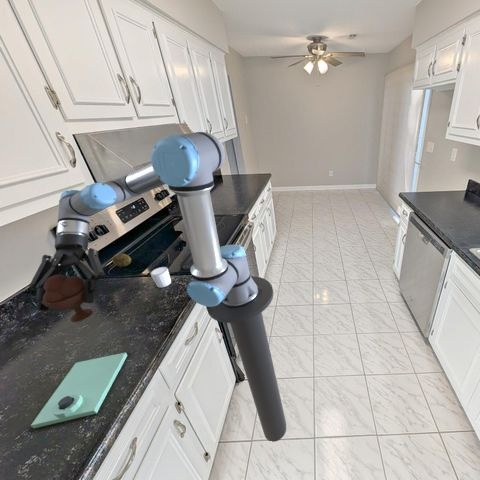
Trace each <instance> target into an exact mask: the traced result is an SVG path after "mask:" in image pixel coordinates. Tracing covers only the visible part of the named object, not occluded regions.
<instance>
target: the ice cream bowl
mask: <svg viewBox="0 0 480 480" xmlns="http://www.w3.org/2000/svg"><path fill="white" fill-rule="evenodd" d="M85 281H86V280H85V279H83V278H81V277H80V276H75V275H72V276H67V275H64V274H59V275H54V276H51V277H49V278H48V279H47V280H46V281H45V283H44V289H45V291H46V292H45V294H44V296H43V300H42V302H41V303H42V304H43V305H45V306H47V307H49V309H52V310H54V311H69V310H73V311H74V314H73V315H71V317H70V322H72V323H79V322H81V321H84V320H87V319H88V318H89V317H90V316H91V315H93V313H94V310H93V309H91V308H82V306H81V305H82V304H84V291H85Z"/></svg>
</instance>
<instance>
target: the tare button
mask: <svg viewBox="0 0 480 480" xmlns="http://www.w3.org/2000/svg"><path fill="white" fill-rule="evenodd" d="M72 403H73V399H72V398H71V397H70V396H66V397H64V398H62V399H61V400H60V401H59V402H58V405H59V407H60V408H61V409H65V408H67V407H69V406H70V405H71V404H72Z"/></svg>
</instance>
